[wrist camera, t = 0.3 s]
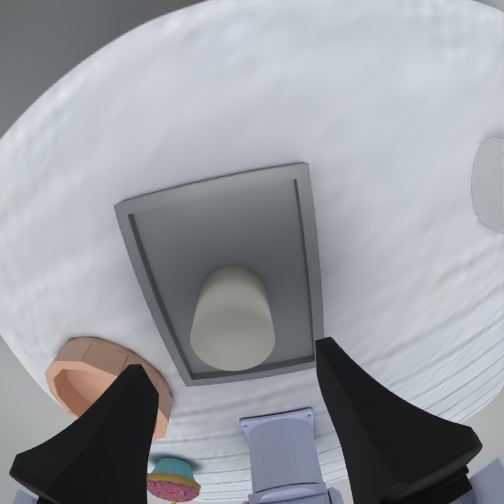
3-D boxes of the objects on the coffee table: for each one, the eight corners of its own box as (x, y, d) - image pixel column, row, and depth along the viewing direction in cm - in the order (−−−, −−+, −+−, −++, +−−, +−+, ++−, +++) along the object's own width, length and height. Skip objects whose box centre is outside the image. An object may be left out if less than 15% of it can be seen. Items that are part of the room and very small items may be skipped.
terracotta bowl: (189, 419, 25) (186, 444, 22) (97, 415, 26) (90, 435, 22) (140, 332, 20) (127, 360, 17) (41, 338, 21) (25, 358, 18)
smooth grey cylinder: (270, 316, 20) (279, 364, 15) (209, 326, 20) (203, 374, 15) (260, 259, 18) (268, 300, 13) (192, 271, 18) (178, 314, 13)
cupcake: (210, 471, 32) (208, 533, 21) (164, 471, 32) (157, 528, 21) (186, 451, 29) (179, 524, 18) (136, 450, 29) (123, 515, 18)
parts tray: (320, 354, 22) (324, 365, 21) (188, 375, 22) (186, 386, 21) (302, 162, 16) (307, 163, 15) (122, 201, 17) (113, 205, 15)
